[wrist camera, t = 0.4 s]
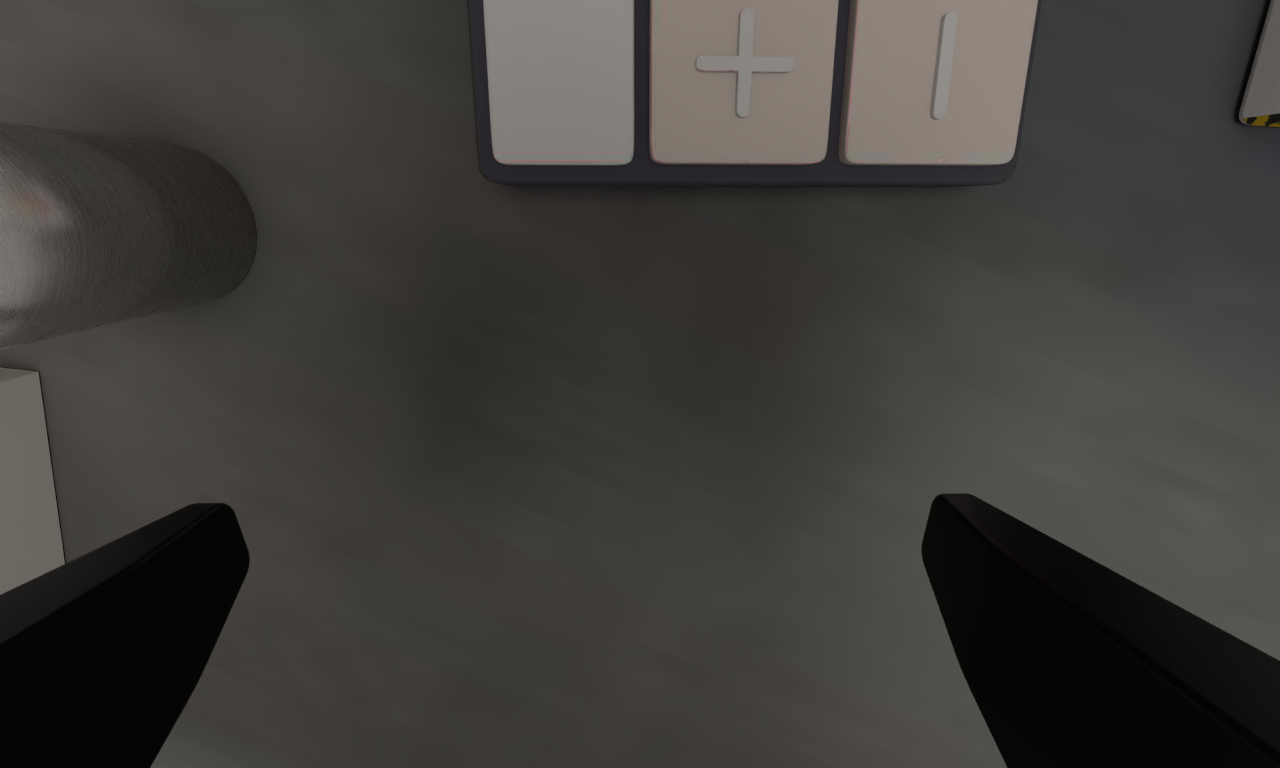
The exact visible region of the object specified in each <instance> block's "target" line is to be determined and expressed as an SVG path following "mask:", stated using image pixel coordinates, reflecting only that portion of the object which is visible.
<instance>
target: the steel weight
mask: <svg viewBox="0 0 1280 768" xmlns="http://www.w3.org/2000/svg"><path fill="white" fill-rule="evenodd" d="M256 240H257V234H256V225H255V221H254V216H253V213H252V210H251V207H250V205H249V203H248V201H247V199H246V197H245V195H244V193H243V191H242V190H241V188H240V187H239V185H238V184H237V183H236V181H235V180H234V179H233V178H232V176H231V175H230V174H229V173H228V172H227V171H226V170H225V169H224V168H223V167H221V166H220V165H219V164H217V163H216V162H215V161H214V160H212V159H211V158H209V157H207V156H206V155H204V154H202V153H200V152H198V151H196V150H194V149H191V148H188V147H185V146H182V145H177V144H172V143H164V142H156V141H148V140H140V139H132V138H124V137H117V136H109V135H101V134H93V133H85V132H77V131H69V130H62V129H54V128H46V127H38V126H30V125H22V124H14V123H7V122H0V350H2V349H6V348H11V347H15V346H19V345H24V344H28V343H32V342H36V341H41V340H45V339H49V338H54V337H58V336H62V335H66V334H71V333H75V332H79V331H84V330H88V329H92V328H96V327H101V326H105V325H109V324H113V323H118V322H122V321H126V320H131V319H135V318H139V317H143V316H148V315H152V314H156V313H161V312H165V311H169V310H173V309H178V308H182V307H186V306H190V305H195V304H199V303H203V302H208V301H212V300H215V299H217V298H220V297H222V296H224V295H226V294H228V293H229V292H231V291H232V290H233V289H235V288H236V287H237V286H238V285H239V284H240V283H241V282H242V281H243V279H244V278H245V276H246V275H247V273H248V271H249V269H250V267H251V265H252V263H253V259H254V256H255V251H256Z"/></svg>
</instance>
